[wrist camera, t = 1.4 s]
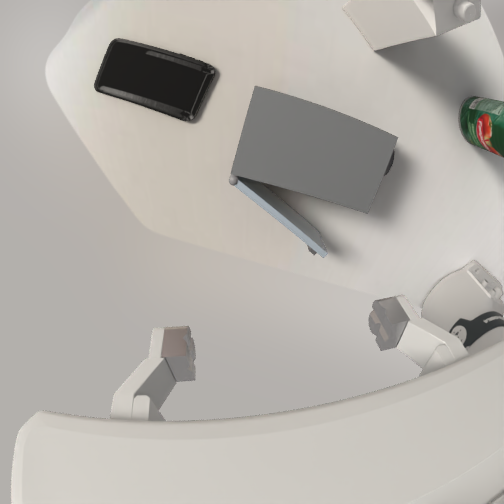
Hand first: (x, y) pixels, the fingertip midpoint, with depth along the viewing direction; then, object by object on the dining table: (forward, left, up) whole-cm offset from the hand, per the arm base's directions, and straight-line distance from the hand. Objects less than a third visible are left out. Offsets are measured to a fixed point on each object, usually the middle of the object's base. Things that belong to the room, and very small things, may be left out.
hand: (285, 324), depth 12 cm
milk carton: (-8, -24, -28) cm, 38 cm away
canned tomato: (-28, -18, -28) cm, 44 cm away
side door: (-3, +4, -27) cm, 28 cm away
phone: (+17, -8, -29) cm, 34 cm away
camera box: (-4, -4, -28) cm, 28 cm away
